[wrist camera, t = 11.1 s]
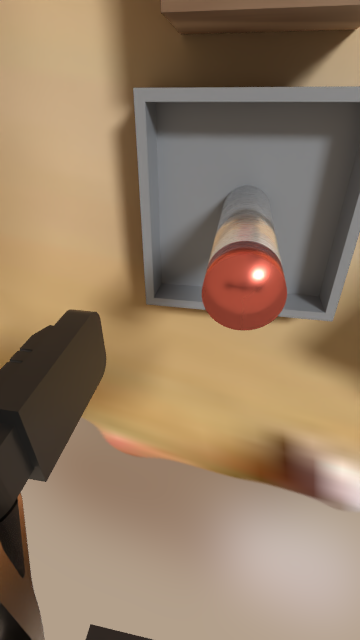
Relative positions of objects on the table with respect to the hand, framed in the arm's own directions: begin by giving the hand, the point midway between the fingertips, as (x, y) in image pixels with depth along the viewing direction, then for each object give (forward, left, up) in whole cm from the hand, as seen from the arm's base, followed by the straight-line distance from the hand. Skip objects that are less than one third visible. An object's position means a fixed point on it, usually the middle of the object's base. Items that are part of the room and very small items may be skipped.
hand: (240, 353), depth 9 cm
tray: (0, 0, -16) cm, 16 cm away
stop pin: (0, 0, -16) cm, 16 cm away
